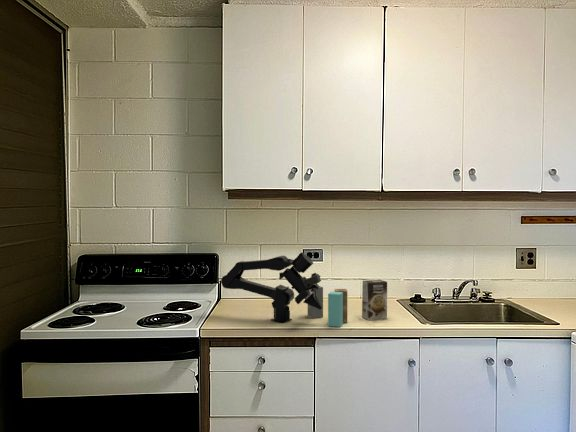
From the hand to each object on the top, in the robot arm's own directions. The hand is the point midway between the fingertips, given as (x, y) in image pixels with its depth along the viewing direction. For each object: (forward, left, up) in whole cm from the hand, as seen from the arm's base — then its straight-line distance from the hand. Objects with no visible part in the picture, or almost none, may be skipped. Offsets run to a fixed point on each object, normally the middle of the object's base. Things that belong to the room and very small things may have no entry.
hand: (321, 308), depth 182 cm
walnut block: (+3, +9, -6) cm, 12 cm away
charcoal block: (-9, +8, -6) cm, 14 cm away
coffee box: (+11, +23, -7) cm, 26 cm away
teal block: (+5, +2, -6) cm, 9 cm away
